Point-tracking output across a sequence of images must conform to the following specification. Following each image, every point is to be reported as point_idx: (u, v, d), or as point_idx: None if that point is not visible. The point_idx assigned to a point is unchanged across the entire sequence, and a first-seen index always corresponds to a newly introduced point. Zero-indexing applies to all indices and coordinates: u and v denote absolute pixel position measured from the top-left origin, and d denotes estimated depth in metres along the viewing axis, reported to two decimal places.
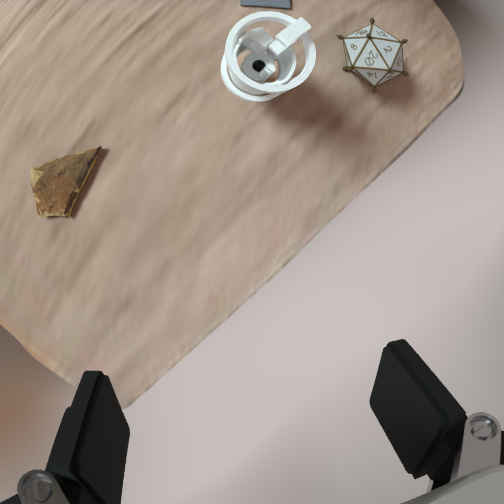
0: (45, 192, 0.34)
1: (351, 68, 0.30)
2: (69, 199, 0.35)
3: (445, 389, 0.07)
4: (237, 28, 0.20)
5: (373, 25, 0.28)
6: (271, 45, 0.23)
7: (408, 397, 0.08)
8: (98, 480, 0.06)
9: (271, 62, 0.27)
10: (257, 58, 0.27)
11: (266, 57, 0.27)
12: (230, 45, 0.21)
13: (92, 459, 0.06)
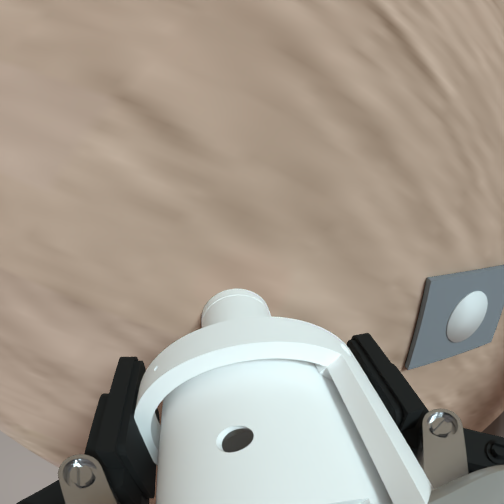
0: None
1: None
2: None
3: (404, 383, 0.08)
4: None
5: None
6: None
7: None
8: (138, 463, 0.07)
9: None
10: None
11: None
12: None
13: (133, 441, 0.07)
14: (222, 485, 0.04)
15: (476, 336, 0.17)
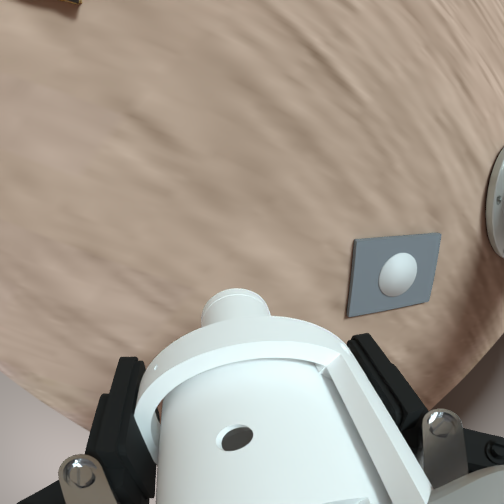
0: None
1: None
2: None
3: (404, 383, 0.08)
4: None
5: None
6: None
7: None
8: (138, 463, 0.07)
9: None
10: None
11: None
12: None
13: (133, 441, 0.07)
14: (221, 483, 0.04)
15: (411, 294, 0.24)
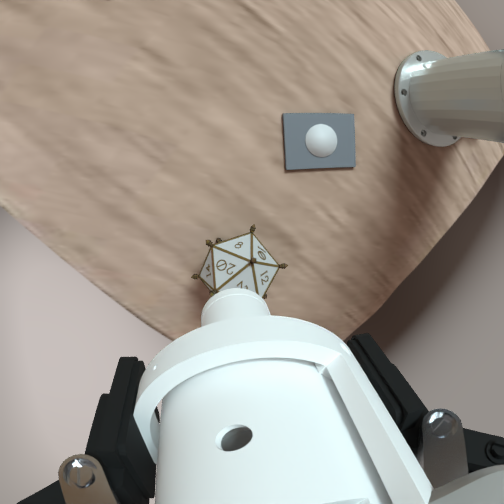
0: None
1: (208, 244, 0.30)
2: None
3: (404, 383, 0.08)
4: None
5: (276, 267, 0.32)
6: None
7: None
8: (138, 463, 0.07)
9: None
10: None
11: None
12: None
13: (133, 441, 0.07)
14: (221, 484, 0.04)
15: (337, 157, 0.33)
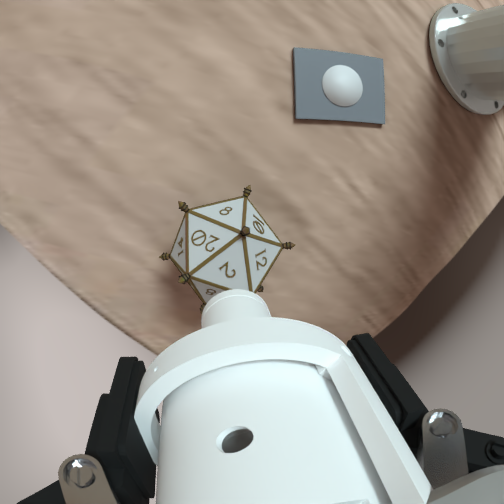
0: None
1: (182, 208, 0.20)
2: None
3: (404, 383, 0.08)
4: None
5: (278, 246, 0.22)
6: None
7: None
8: (138, 462, 0.07)
9: None
10: None
11: None
12: None
13: (133, 441, 0.07)
14: (222, 485, 0.04)
15: (362, 109, 0.24)
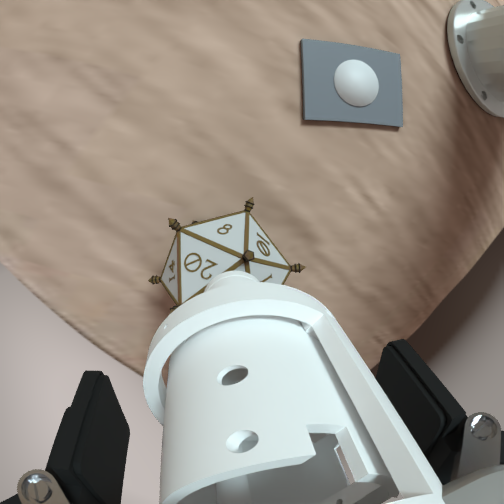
0: None
1: (173, 226, 0.17)
2: None
3: (445, 389, 0.07)
4: None
5: (286, 270, 0.19)
6: None
7: (408, 397, 0.08)
8: (98, 480, 0.06)
9: None
10: None
11: None
12: None
13: (92, 459, 0.06)
14: (221, 410, 0.06)
15: (378, 110, 0.21)
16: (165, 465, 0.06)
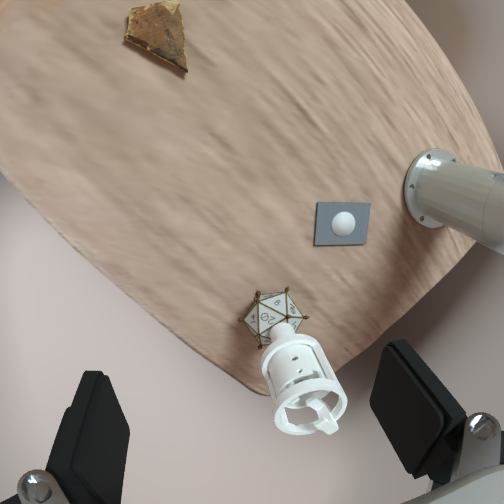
0: (152, 16, 0.30)
1: (256, 301, 0.41)
2: (141, 40, 0.32)
3: (445, 389, 0.07)
4: (334, 390, 0.26)
5: (301, 318, 0.43)
6: (315, 399, 0.29)
7: (408, 397, 0.08)
8: (98, 480, 0.06)
9: (298, 378, 0.33)
10: None
11: None
12: (319, 389, 0.26)
13: (92, 459, 0.06)
14: (293, 365, 0.30)
15: (353, 237, 0.45)
16: (280, 380, 0.30)
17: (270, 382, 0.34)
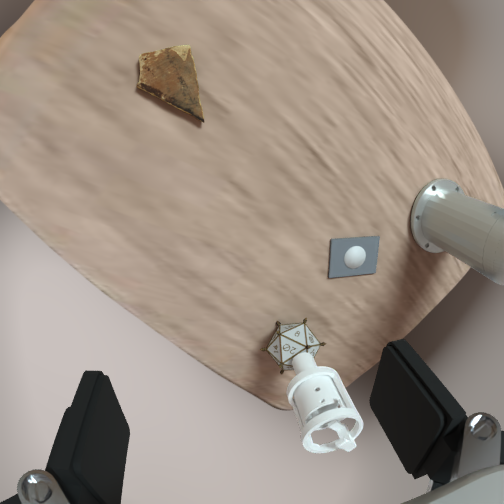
0: (164, 62, 0.34)
1: (278, 333, 0.45)
2: (154, 89, 0.35)
3: (445, 389, 0.07)
4: (353, 417, 0.30)
5: (318, 345, 0.46)
6: (336, 423, 0.33)
7: (408, 397, 0.08)
8: (98, 480, 0.06)
9: None
10: None
11: (324, 400, 0.37)
12: (340, 417, 0.29)
13: (92, 459, 0.06)
14: (317, 396, 0.33)
15: (364, 268, 0.48)
16: (305, 408, 0.33)
17: (295, 408, 0.37)
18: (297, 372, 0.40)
